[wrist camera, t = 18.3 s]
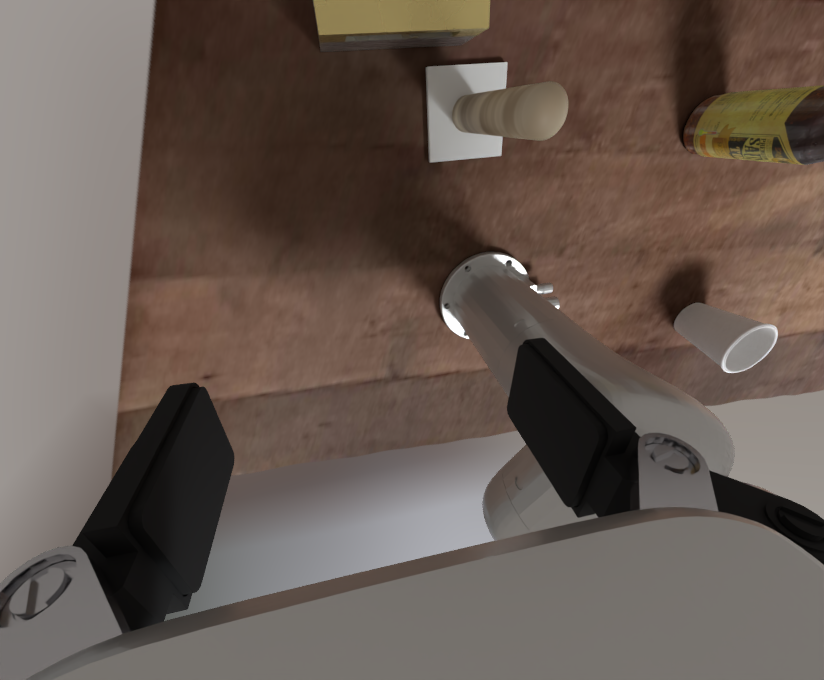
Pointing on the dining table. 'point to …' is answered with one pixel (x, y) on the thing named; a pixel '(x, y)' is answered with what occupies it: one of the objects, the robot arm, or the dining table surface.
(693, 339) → the dixie cup
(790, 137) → the sauce bottle
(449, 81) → the pad
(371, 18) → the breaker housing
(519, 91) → the beige cylinder rod
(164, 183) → the dining table surface
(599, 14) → the dining table surface
